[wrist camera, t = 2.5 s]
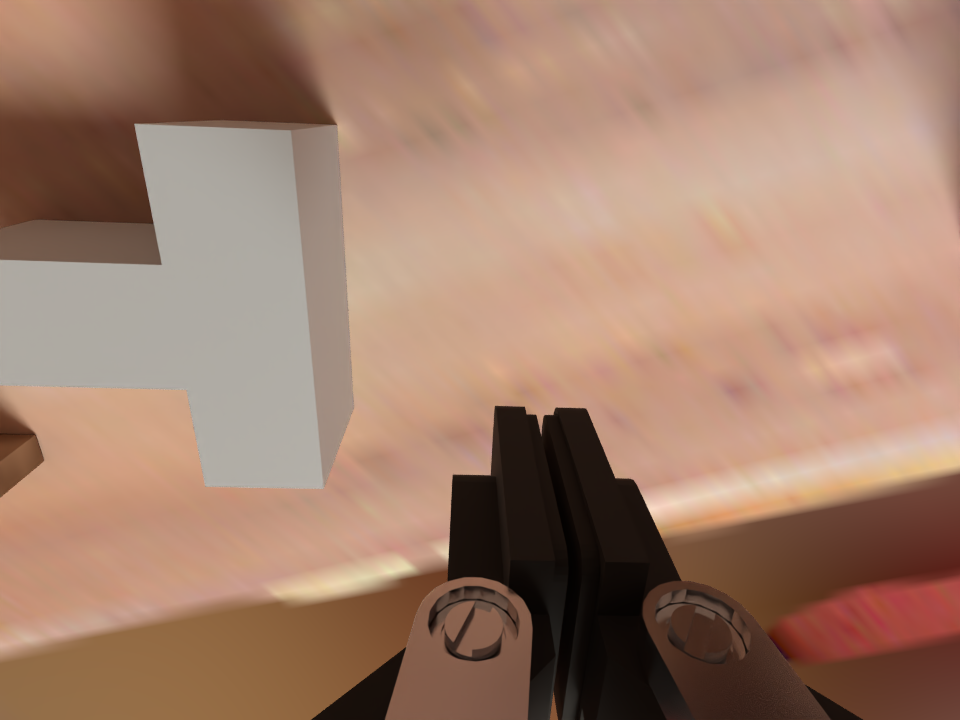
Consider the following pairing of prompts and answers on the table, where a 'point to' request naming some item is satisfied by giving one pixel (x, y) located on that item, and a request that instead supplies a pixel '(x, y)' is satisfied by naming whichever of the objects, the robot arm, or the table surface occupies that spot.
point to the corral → (17, 459)
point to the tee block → (203, 297)
